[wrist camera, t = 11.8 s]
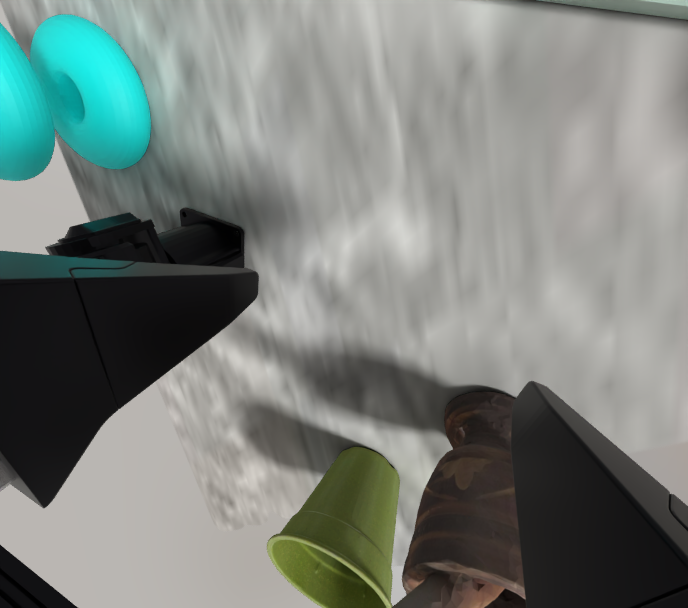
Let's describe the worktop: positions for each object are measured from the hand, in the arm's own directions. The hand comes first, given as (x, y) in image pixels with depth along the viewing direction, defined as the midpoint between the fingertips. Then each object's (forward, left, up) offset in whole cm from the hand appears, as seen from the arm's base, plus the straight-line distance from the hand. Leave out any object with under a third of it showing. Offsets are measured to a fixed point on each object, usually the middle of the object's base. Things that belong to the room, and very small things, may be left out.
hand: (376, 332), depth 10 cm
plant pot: (+2, -28, -13) cm, 31 cm away
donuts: (-28, +2, -13) cm, 31 cm away
